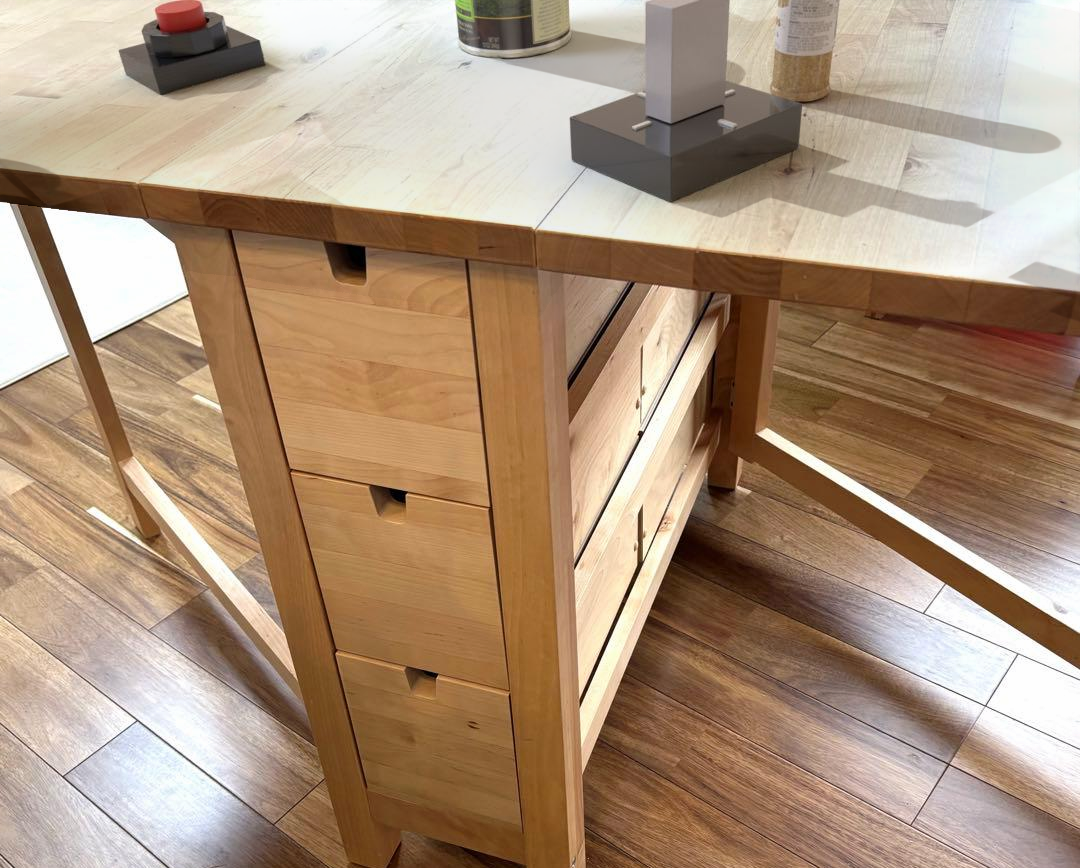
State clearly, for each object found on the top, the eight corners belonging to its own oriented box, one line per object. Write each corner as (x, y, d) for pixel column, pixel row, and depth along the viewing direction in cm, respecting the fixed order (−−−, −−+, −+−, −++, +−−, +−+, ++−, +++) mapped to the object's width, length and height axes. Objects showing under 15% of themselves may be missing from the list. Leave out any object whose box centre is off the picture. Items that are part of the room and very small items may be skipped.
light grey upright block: (670, 124, 68) (672, 4, 64) (644, 115, 70) (644, -3, 65) (725, 103, 71) (730, -14, 66) (698, 95, 72) (702, -21, 67)
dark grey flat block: (670, 202, 67) (671, 153, 65) (571, 160, 73) (568, 114, 71) (798, 148, 72) (803, 101, 70) (695, 113, 78) (697, 68, 76)
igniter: (160, 96, 89) (146, 46, 87) (126, 75, 94) (111, 28, 92) (266, 66, 94) (254, 17, 91) (227, 48, 98) (215, 1, 96)
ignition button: (171, 37, 89) (165, 15, 88) (153, 29, 92) (147, 7, 91) (214, 26, 91) (209, 4, 90) (195, 18, 94) (190, -4, 92)
